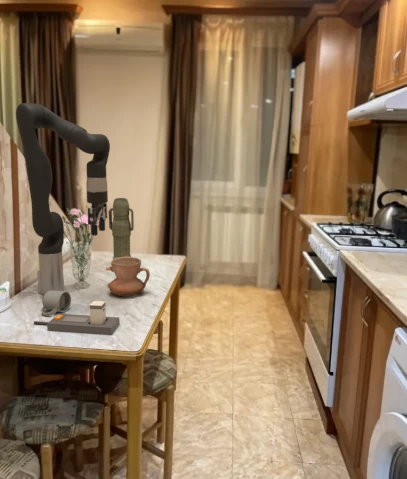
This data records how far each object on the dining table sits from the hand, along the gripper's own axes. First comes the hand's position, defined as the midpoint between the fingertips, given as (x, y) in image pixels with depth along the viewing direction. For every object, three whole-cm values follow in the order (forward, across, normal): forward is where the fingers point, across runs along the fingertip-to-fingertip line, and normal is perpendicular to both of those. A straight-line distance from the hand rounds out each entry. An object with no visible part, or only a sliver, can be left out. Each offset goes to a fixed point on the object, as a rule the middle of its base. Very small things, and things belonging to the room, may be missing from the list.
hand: (98, 233), depth 174 cm
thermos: (+28, -46, -5) cm, 54 cm away
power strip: (+28, +23, -2) cm, 36 cm away
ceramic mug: (+28, +10, -14) cm, 33 cm away
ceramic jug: (+28, -14, +7) cm, 32 cm away
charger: (+28, +23, +7) cm, 37 cm away
